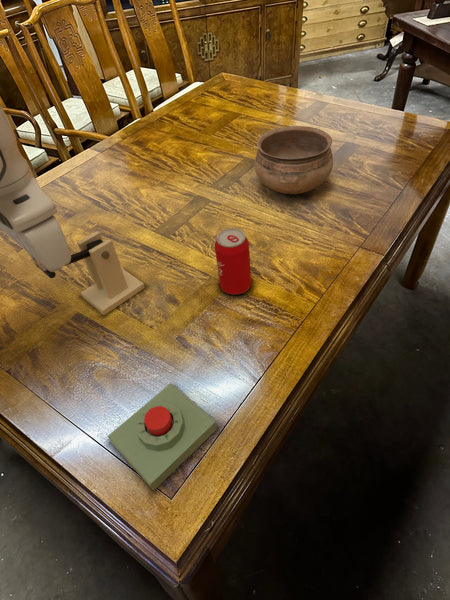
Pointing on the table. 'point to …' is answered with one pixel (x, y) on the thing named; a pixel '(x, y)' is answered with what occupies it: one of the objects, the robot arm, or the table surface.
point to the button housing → (163, 436)
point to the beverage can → (233, 261)
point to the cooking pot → (294, 159)
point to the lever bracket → (107, 276)
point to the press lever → (76, 256)
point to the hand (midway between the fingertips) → (44, 265)
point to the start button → (158, 420)
